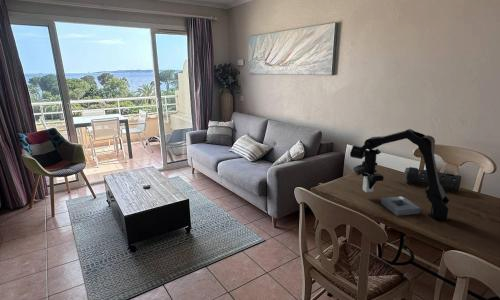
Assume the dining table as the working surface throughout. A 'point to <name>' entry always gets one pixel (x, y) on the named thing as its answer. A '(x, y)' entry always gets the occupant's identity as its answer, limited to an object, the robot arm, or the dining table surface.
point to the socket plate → (405, 209)
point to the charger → (366, 184)
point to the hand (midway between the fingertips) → (368, 187)
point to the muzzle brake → (421, 179)
